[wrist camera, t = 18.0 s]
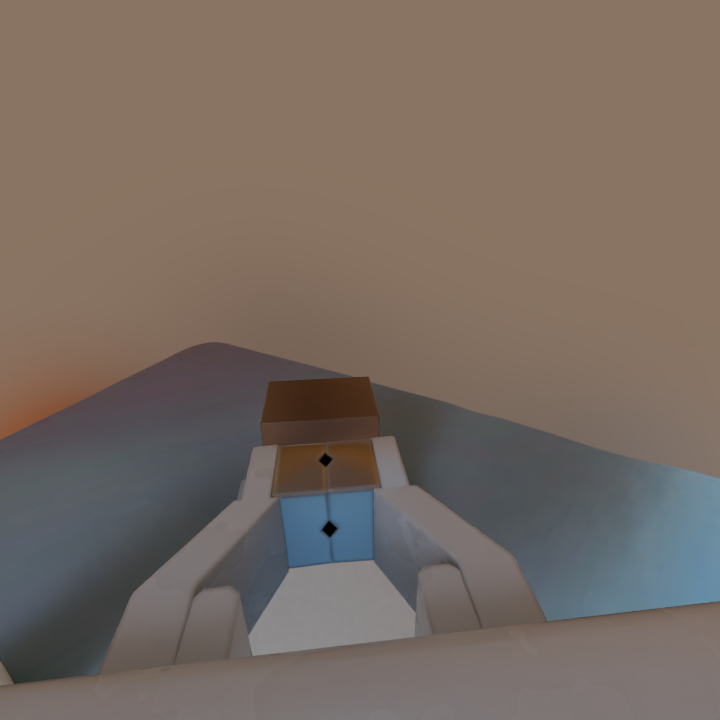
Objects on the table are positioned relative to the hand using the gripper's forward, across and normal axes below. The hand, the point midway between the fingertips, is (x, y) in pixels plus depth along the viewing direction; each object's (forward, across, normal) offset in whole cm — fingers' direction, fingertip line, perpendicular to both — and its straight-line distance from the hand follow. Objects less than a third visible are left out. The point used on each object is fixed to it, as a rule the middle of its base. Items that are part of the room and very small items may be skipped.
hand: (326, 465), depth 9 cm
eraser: (+19, +1, +18) cm, 26 cm away
